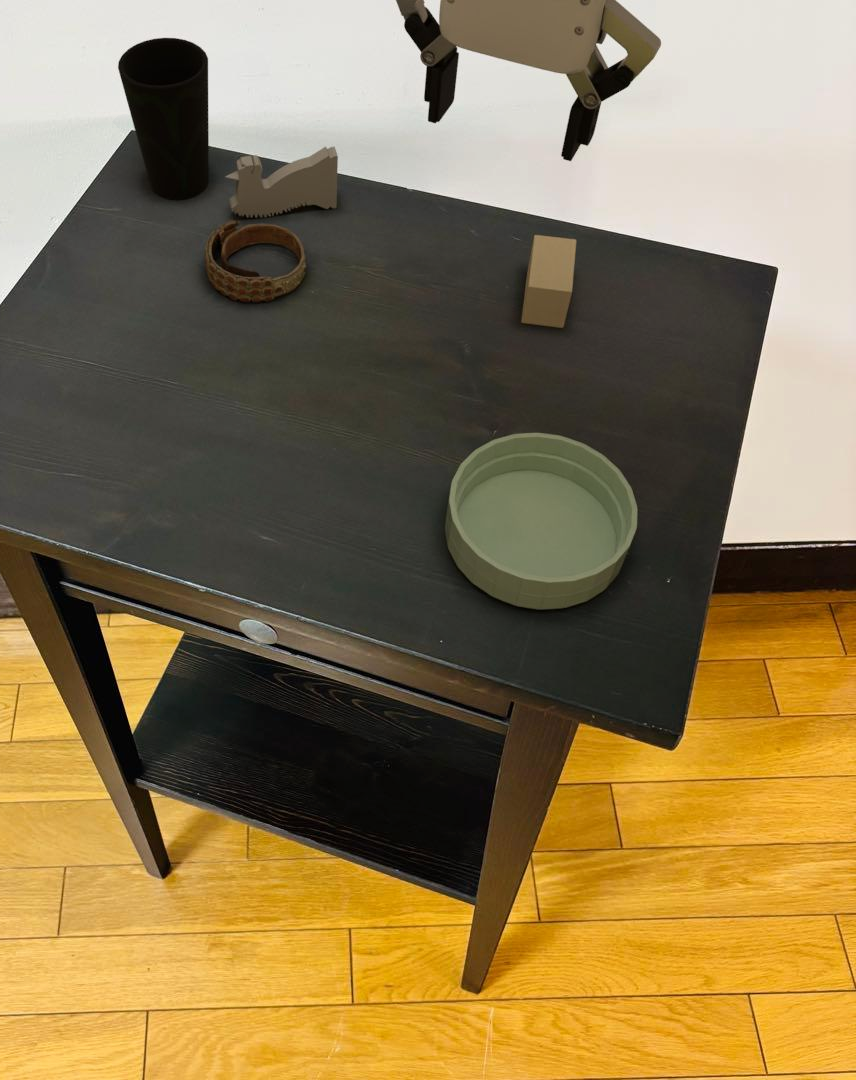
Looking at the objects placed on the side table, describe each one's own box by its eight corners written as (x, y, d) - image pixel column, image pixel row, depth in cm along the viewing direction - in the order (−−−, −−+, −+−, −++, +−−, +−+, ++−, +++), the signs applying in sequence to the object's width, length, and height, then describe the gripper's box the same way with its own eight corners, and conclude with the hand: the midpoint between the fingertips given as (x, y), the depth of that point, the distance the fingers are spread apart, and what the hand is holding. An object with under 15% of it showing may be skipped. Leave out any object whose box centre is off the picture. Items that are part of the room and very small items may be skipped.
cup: (236, 173, 101) (225, 53, 91) (188, 217, 97) (172, 97, 87) (171, 147, 103) (154, 28, 94) (122, 189, 100) (99, 70, 90)
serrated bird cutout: (336, 209, 98) (228, 221, 97) (333, 199, 99) (226, 212, 98) (337, 154, 93) (224, 167, 92) (334, 145, 94) (222, 158, 93)
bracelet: (190, 259, 94) (186, 232, 92) (276, 227, 96) (274, 200, 94) (235, 319, 90) (232, 292, 87) (324, 283, 92) (324, 256, 90)
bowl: (626, 480, 79) (639, 446, 76) (621, 627, 72) (635, 595, 69) (455, 456, 81) (461, 421, 78) (433, 597, 74) (438, 565, 70)
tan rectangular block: (527, 271, 93) (534, 234, 89) (567, 276, 92) (576, 239, 89) (521, 323, 89) (528, 286, 86) (563, 328, 89) (572, 291, 85)
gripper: (719, -141, 59) (644, 133, 73) (430, -197, 63) (412, 71, 77) (682, -81, 55) (610, 196, 69) (377, -145, 59) (368, 127, 73)
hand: (505, 130), depth 73 cm, fingers open, 9 cm apart
